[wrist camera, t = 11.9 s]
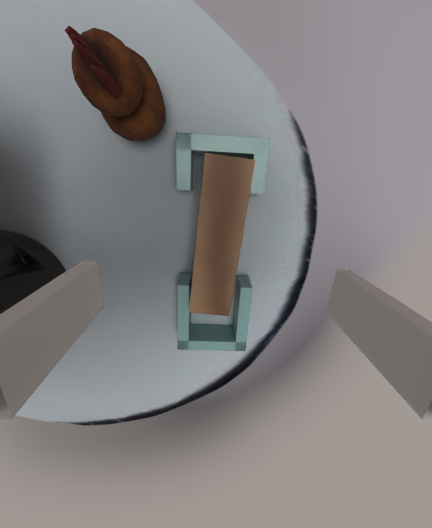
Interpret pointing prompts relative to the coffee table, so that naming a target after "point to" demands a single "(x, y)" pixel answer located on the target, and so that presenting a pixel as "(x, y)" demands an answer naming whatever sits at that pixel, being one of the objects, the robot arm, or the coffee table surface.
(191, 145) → the endcaps
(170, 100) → the coffee table surface
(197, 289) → the slat
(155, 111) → the wooden figurine
